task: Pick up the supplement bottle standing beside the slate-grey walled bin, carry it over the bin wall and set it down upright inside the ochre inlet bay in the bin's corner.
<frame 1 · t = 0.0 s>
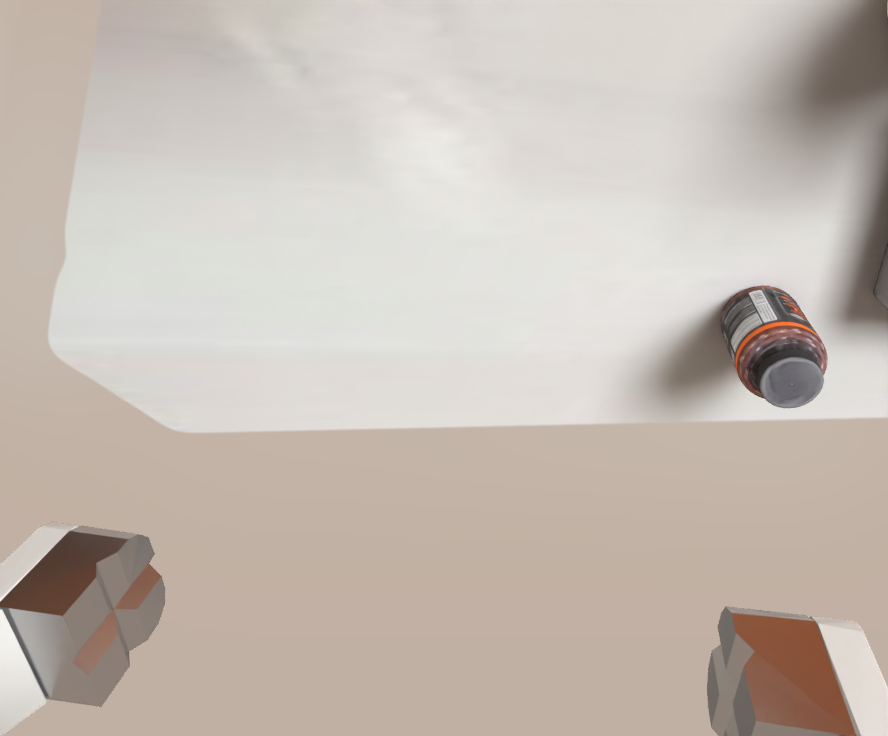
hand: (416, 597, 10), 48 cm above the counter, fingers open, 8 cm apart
supplement bottle: (757, 315, 56), on the counter
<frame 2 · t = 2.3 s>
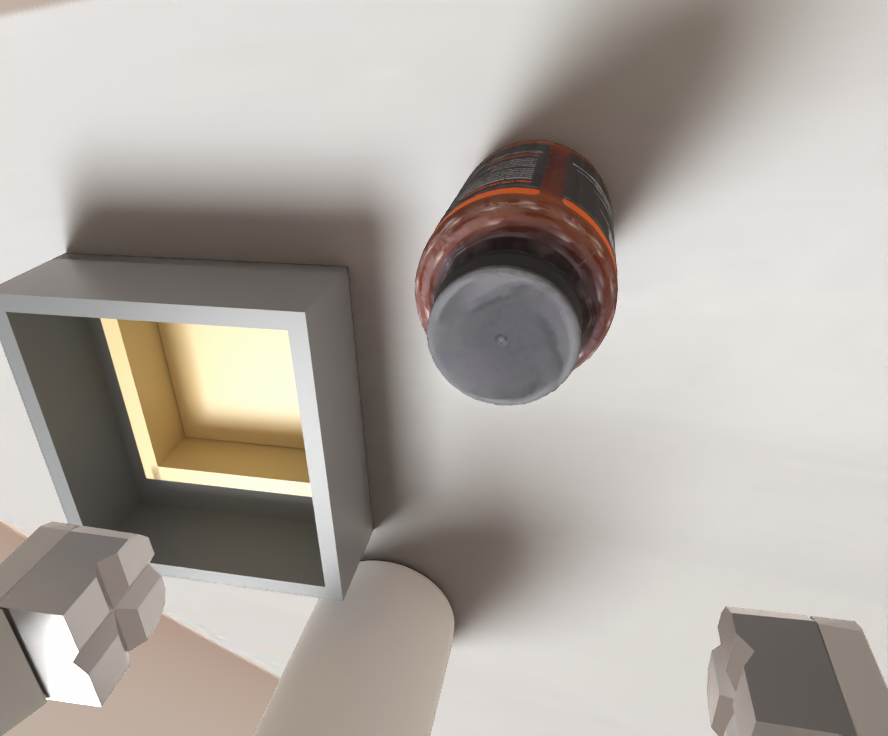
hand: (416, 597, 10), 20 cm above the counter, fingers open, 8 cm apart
walled box: (229, 401, 34), on the counter
pill bottle: (390, 604, 39), on the counter
supplement bottle: (535, 213, 27), on the counter
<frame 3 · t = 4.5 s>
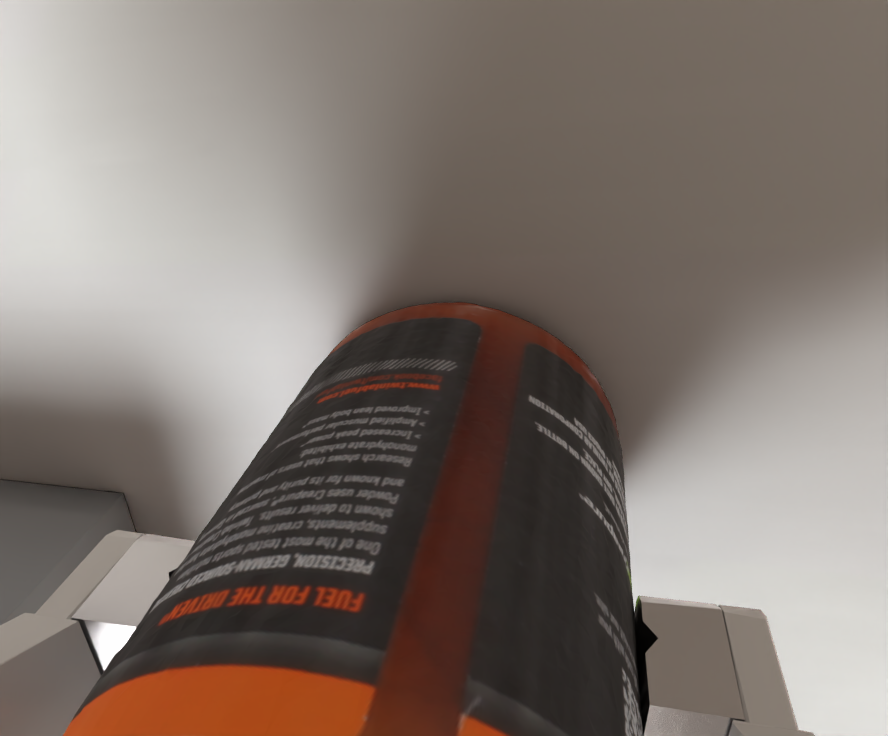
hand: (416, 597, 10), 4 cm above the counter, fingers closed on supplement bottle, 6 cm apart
supplement bottle: (464, 427, 13), on the counter, touching gripper
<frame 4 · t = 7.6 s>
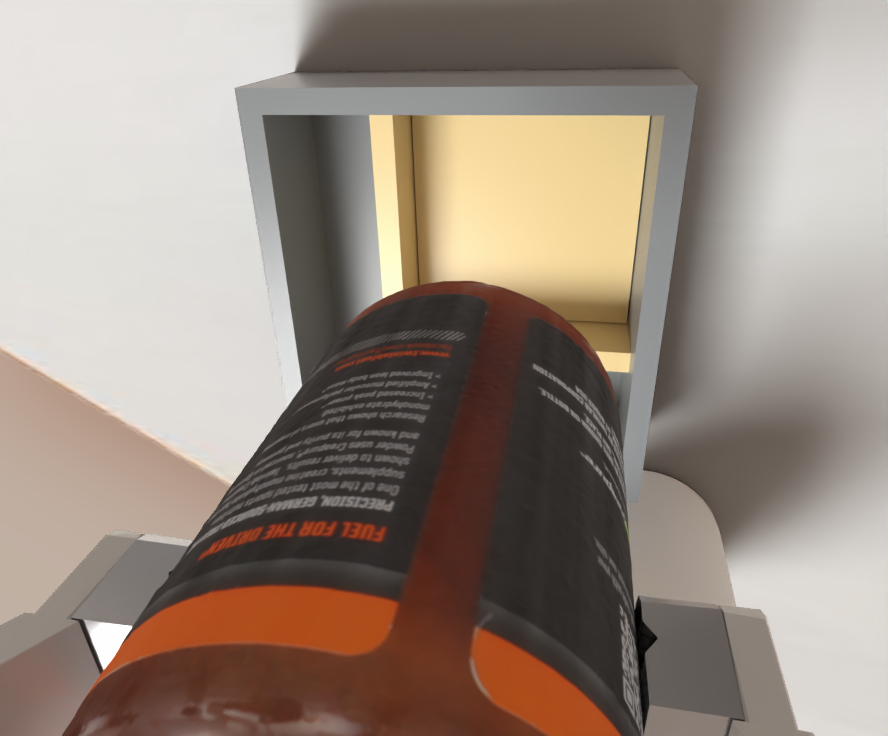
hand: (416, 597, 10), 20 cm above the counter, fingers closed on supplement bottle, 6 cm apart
walled box: (477, 266, 28), on the counter
pill bottle: (630, 526, 33), on the counter
supplement bottle: (470, 402, 14), point 15 cm above the counter, touching gripper
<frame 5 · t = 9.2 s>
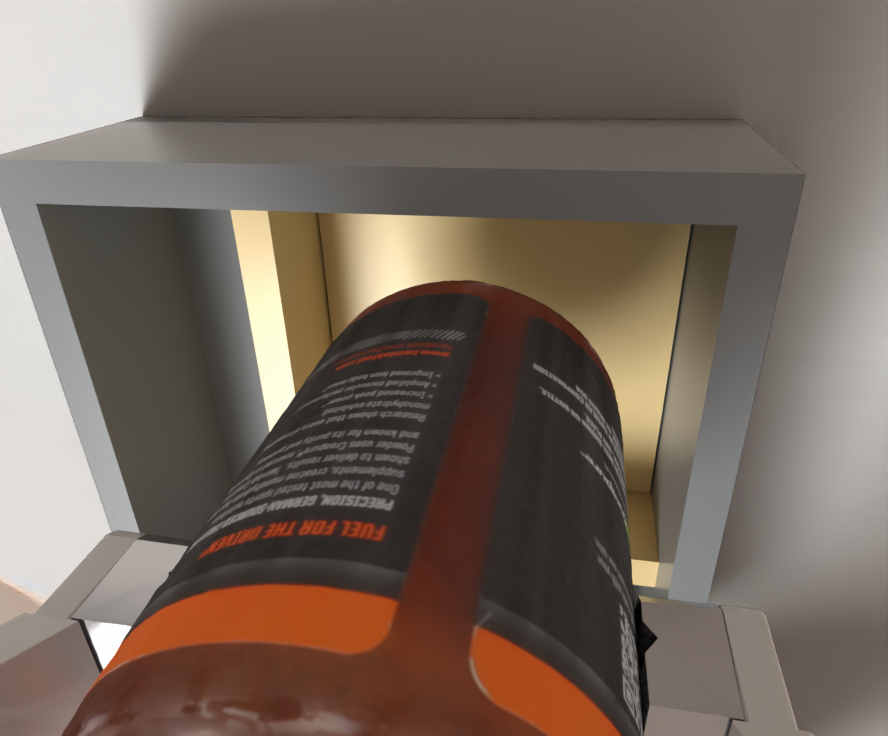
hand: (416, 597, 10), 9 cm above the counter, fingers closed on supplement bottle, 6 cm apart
walled box: (428, 398, 19), on the counter
supplement bottle: (471, 402, 14), point 4 cm above the counter, touching gripper
when the fingers open (6 cm above the counter, at t = 10.8 s): supplement bottle stays where it is, resting on walled box.
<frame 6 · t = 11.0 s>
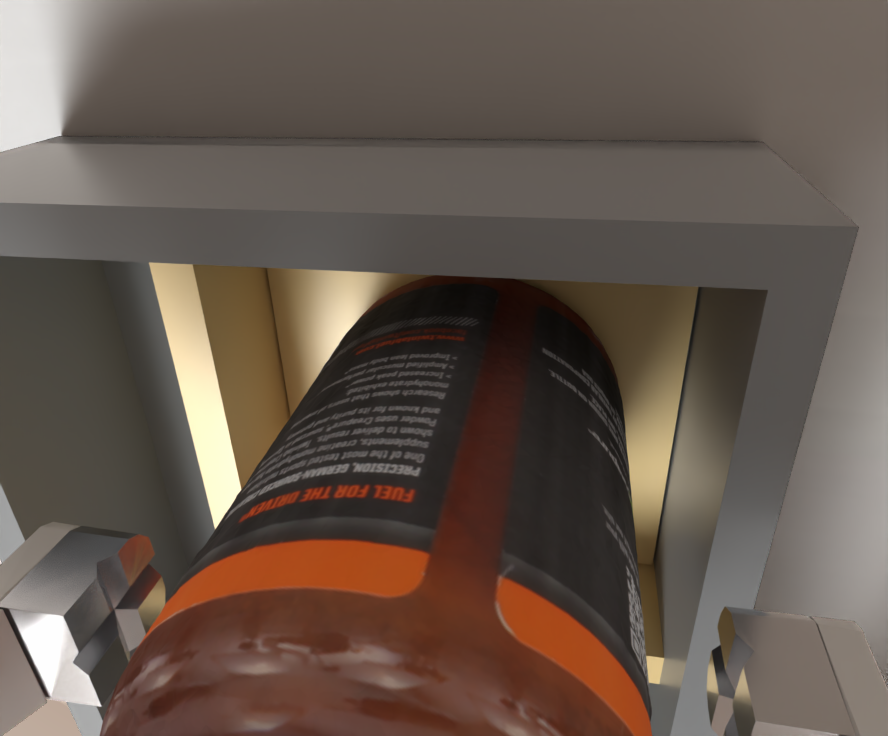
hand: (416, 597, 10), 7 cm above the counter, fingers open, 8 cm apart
walled box: (400, 453, 17), on the counter
supplement bottle: (478, 389, 14), point 1 cm above the counter, touching walled box
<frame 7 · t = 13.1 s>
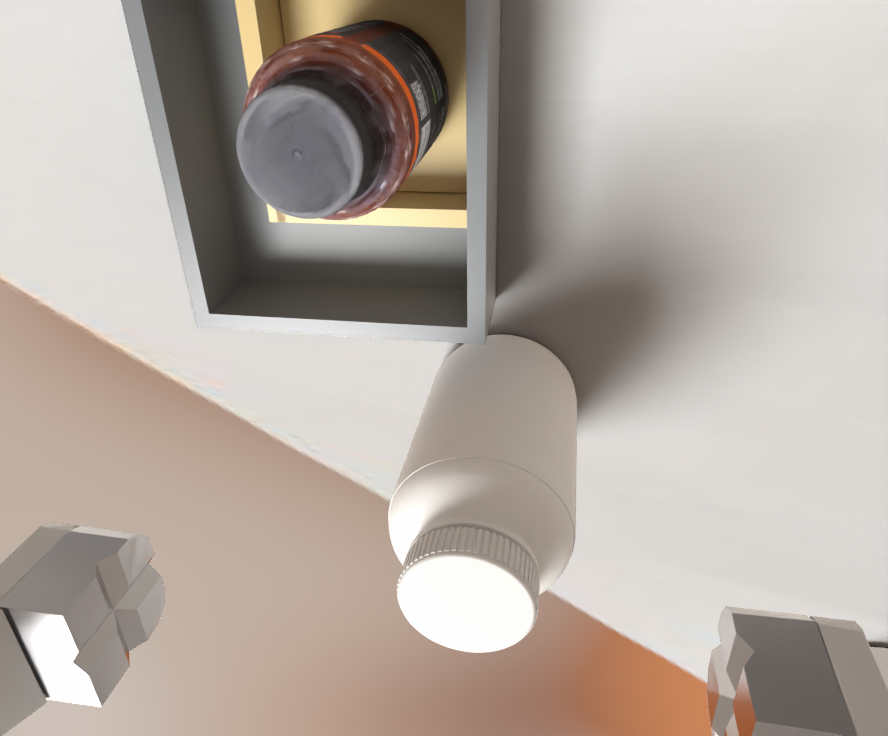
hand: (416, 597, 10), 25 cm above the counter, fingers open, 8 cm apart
walled box: (351, 147, 32), on the counter
pill bottle: (503, 391, 38), on the counter
supplement bottle: (386, 93, 30), point 1 cm above the counter, touching walled box
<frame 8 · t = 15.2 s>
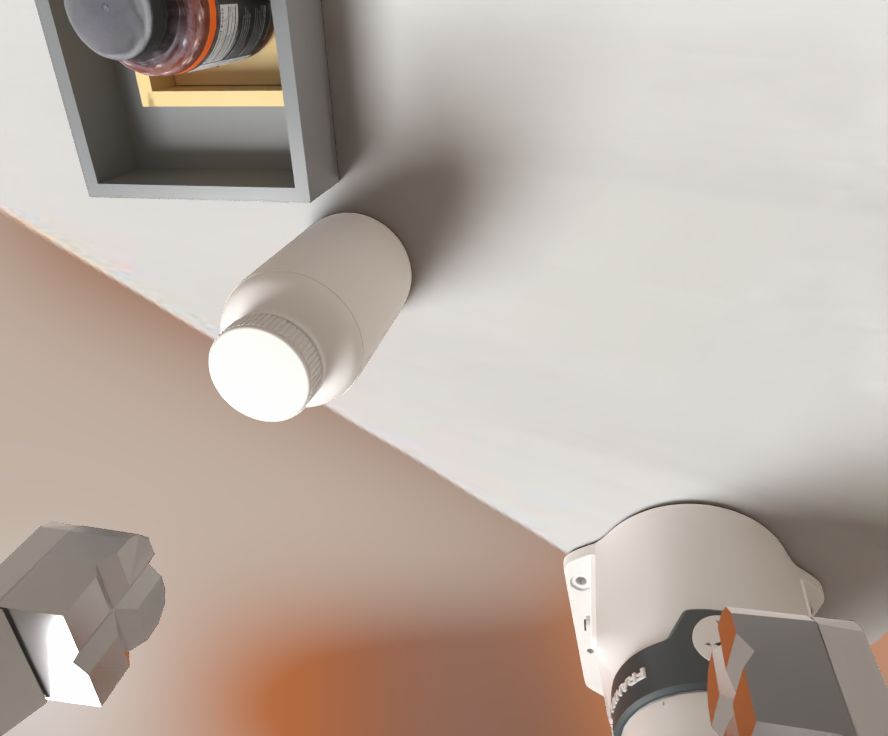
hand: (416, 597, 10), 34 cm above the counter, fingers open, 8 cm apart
walled box: (213, 51, 40), on the counter
pill bottle: (356, 267, 45), on the counter
supplement bottle: (232, 2, 38), point 1 cm above the counter, touching walled box
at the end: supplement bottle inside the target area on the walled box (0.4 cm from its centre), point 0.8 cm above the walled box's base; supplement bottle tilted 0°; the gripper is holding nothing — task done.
